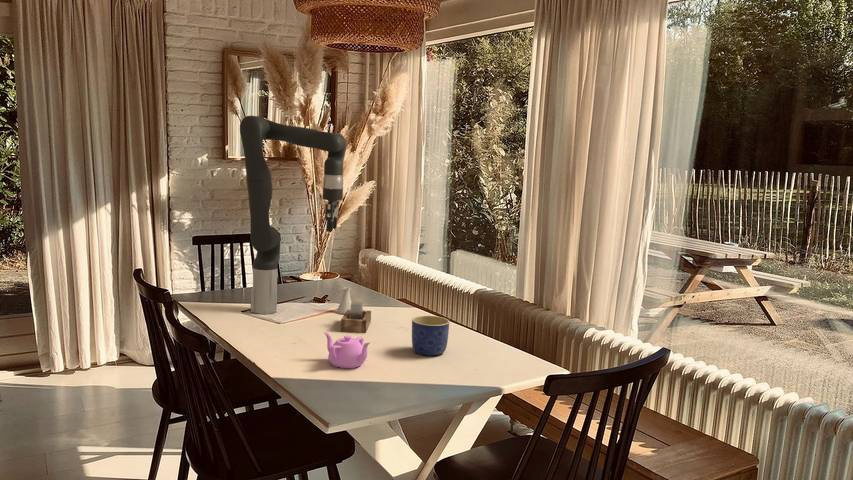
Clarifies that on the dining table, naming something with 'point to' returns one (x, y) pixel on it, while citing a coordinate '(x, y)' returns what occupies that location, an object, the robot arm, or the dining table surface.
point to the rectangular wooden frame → (355, 323)
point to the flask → (345, 301)
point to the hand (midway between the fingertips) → (331, 230)
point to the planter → (430, 334)
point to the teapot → (346, 351)
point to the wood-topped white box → (356, 310)
